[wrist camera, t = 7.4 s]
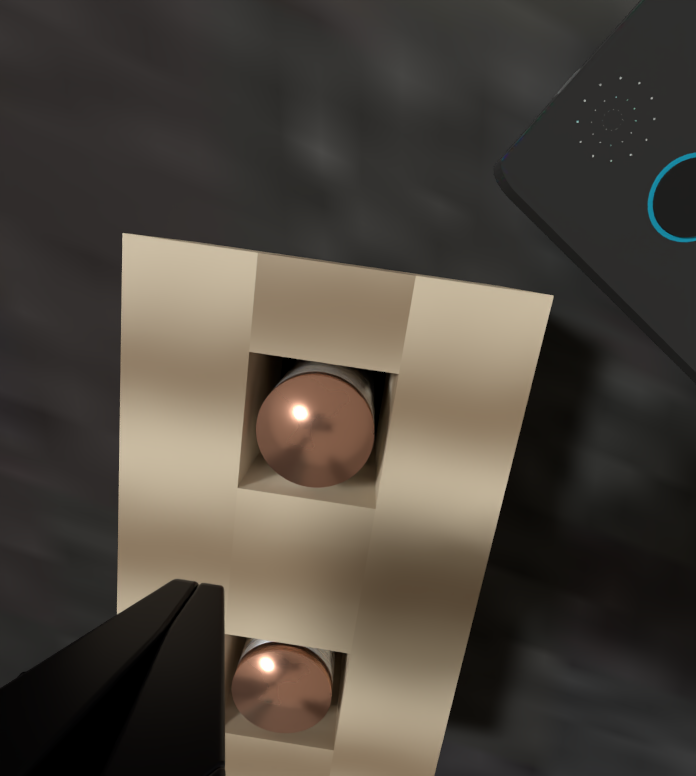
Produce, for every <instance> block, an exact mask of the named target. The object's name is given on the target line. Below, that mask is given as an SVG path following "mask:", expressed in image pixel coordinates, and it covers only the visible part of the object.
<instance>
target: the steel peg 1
mask: <svg viewBox="0 0 696 776" xmlns="http://www.w3.org/2000/svg"><path fill="white" fill-rule="evenodd" d="M256 437H257V442H258V446H259V448H260V451H261V453H262V455H263V457H264V459H265V460H266V462H267V463H268V464H269V466H270V467H271V468H272V469H273V470H274V471H275V472H276V473H278V474H279V475H280V476H282V477H283V478H285V479H286V480H288V481H290V482H292V483H295V484H298V485H301V486H306V487H314V488H321V487H329V486H333V485H337V484H339V483H342V482H344V481H346V480H348V479H349V478H351V477H352V476H353V475H355V474H356V473H357V472H358V471H359V470H360V469H361V468H362V467H363V465H364V464H365V463H366V461H367V459H368V458H369V456H370V453H371V451H372V447H373V443H374V379H373V374H372V371H371V370H369V369H362V368H355V367H348V366H342V365H335V364H328V363H321V362H315V361H308V360H301V359H297V360H296V362H295V363H294V364H293V365H292V367H291V368H290V369H289V370H288V372H287V373H286V374H285V375H284V377H283V378H282V379H281V380H280V382H279V383H278V384H277V385H276V387H275V388H274V389H273V390H272V392H271V393H270V394H269V395H268V397H267V398H266V399H265V401H264V402H263V404H262V406H261V408H260V410H259V414H258V417H257V422H256Z"/></svg>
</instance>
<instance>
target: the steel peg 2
mask: <svg viewBox="0 0 696 776" xmlns="http://www.w3.org/2000/svg"><path fill="white" fill-rule="evenodd" d="M335 655H336V651H330V650H324V649H318V648H311V647H305V646H299V645H292V644H286V643H280V642H273V641H267V640H261V639H254V638H248V637H247V639H246V642H245V645H244V648H243V651H242V654H241V657H240V660H239V663H238V666H237V669H236V672H235V675H234V678H233V680H232V686H231V692H232V697H233V701H234V703H235V705H236V707H237V709H238V710H239V712H240V713H241V714H242V715H243V716H244V717H245V718H246V719H247V720H248V721H250V722H251V723H253V724H254V725H256V726H258V727H260V728H262V729H265V730H268V731H272V732H276V733H295V732H300V731H304V730H307V729H309V728H311V727H313V726H314V725H316V724H317V723H318V722H320V721H321V720H322V719H323V717H324V716H325V715H326V713H327V712H328V709H329V707H330V703H331V695H332V685H333V675H334V665H335Z"/></svg>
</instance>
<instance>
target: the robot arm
mask: <svg viewBox="0 0 696 776" xmlns="http://www.w3.org/2000/svg"><path fill="white" fill-rule="evenodd" d="M0 776H226V771H225V593H224V587H223V586H222V585H216V584H210V583H201V584H198V582H196V581H191V580H185V579H173V580H171V581H170V582H168V583H166V584H165V585H163V586H162V587H160V588H159V589H157V590H155V591H154V592H152V593H151V594H149V595H147V596H146V597H144V598H143V599H141V600H139V601H138V602H136V603H135V604H133V605H132V606H130V607H128V608H127V609H125V610H124V611H122V612H120V613H119V614H117V615H116V616H114V617H113V618H111V619H109V620H108V621H106V622H105V623H103V624H101V625H100V626H98V627H97V628H95V629H93V630H92V631H90V632H89V633H87V634H86V635H84V636H82V637H81V638H79V639H78V640H76V641H74V642H73V643H71V644H70V645H68V646H67V647H65V648H63V649H62V650H60V651H59V652H57V653H55V654H54V655H52V656H51V657H49V658H47V659H46V660H44V661H43V662H41V663H40V664H38V665H36V666H35V667H33V668H32V669H30V670H28V671H27V672H22V673H21V674H20V675H19V676H18V677H17V678H16V679H14V680H13V681H11V682H9V683H8V684H6V685H5V686H3V687H1V688H0Z"/></svg>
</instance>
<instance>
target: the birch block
mask: <svg viewBox="0 0 696 776" xmlns="http://www.w3.org/2000/svg"><path fill="white" fill-rule="evenodd" d="M553 297H554V296H553V295H547V294H541V293H536V292H530V291H524V290H519V289H513V288H508V287H502V286H496V285H489V284H482V283H475V282H468V281H461V280H454V279H448V278H441V277H434V276H427V275H420V274H413V273H406V272H399V271H392V270H386V269H379V268H372V267H365V266H358V265H351V264H344V263H337V262H330V261H324V260H317V259H310V258H303V257H296V256H289V255H282V254H275V253H268V252H261V251H255V250H248V249H241V248H234V247H227V246H220V245H213V244H206V243H199V242H191V241H183V240H175V239H167V238H158V237H150V236H142V235H134V234H126V233H123V245H122V313H121V382H120V450H119V518H118V587H117V614H119V613H120V612H122V611H124V610H125V609H127V608H128V607H130V606H132V605H133V604H135V603H136V602H138V601H139V600H141V599H143V598H144V597H146V596H147V595H149V594H151V593H152V592H154V591H155V590H157V589H159V588H160V587H162V586H163V585H165V584H166V583H168V582H170V581H171V580H173V579H185V580H191V581H196V582H198V584H201V583H210V584H216V585H222V586H223V587H224V593H225V771H226V776H434V774H435V770H436V766H437V762H438V758H439V754H440V750H441V746H442V742H443V738H444V734H445V730H446V726H447V722H448V718H449V714H450V710H451V706H452V702H453V698H454V694H455V690H456V685H457V681H458V677H459V673H460V669H461V665H462V661H463V657H464V653H465V649H466V645H467V641H468V637H469V633H470V629H471V625H472V621H473V617H474V613H475V609H476V605H477V601H478V597H479V593H480V589H481V585H482V581H483V577H484V573H485V569H486V565H487V561H488V557H489V553H490V549H491V545H492V541H493V537H494V533H495V529H496V525H497V521H498V517H499V513H500V509H501V505H502V501H503V497H504V493H505V489H506V485H507V481H508V477H509V473H510V469H511V465H512V461H513V457H514V453H515V449H516V445H517V441H518V437H519V433H520V429H521V425H522V421H523V417H524V413H525V409H526V405H527V401H528V397H529V393H530V389H531V385H532V381H533V377H534V373H535V369H536V365H537V361H538V357H539V353H540V349H541V345H542V341H543V337H544V333H545V329H546V325H547V321H548V317H549V313H550V309H551V305H552V301H553ZM283 357H288V358H295V359H301V360H308V361H315V362H321V363H328V364H335V365H342V366H348V367H355V368H362V369H369V370H375V371H382V372H386V378H385V384H384V390H383V396H382V402H381V408H380V414H379V420H378V426H377V432H376V438H375V440H374V443H373V447H372V451H371V453H370V456H369V458H368V459H367V461H366V463H365V464H364V465H363V467H362V468H361V469H360V470H359V471H358V472H357V473H356V474H355V475H353V476H352V477H351V478H349V479H348V480H346V481H344V482H342V483H339V484H337V485H333V486H329V487H321V488H314V487H306V486H301V485H298V484H295V483H292V482H290V481H288V480H286V479H285V478H283V477H282V476H280V475H279V474H278V473H276V472H275V471H274V470H273V469H272V468H271V467H270V466H269V464H268V463H267V462H266V460H265V459H264V457H263V455H262V453H261V451H260V448H259V446H258V442H257V437H256V422H257V417H258V414H259V410H260V408H261V406H262V404H263V402H264V401H265V399H266V398H267V397H268V395H269V394H270V393H271V392H272V390H273V389H274V388H275V387H276V385H277V384H278V383H279V382H280V380H281V371H282V361H283ZM247 637H248V638H254V639H261V640H267V641H273V642H280V643H286V644H292V645H299V646H305V647H311V648H318V649H324V650H330V651H336V655H335V665H334V675H333V685H332V695H331V703H330V707H329V709H328V712H327V713H326V715H325V716H324V717H323V719H322V720H321V721H320V722H318V723H317V724H316V725H314V726H313V727H311V728H309V729H307V730H304V731H300V732H295V733H276V732H272V731H268V730H265V729H262V728H260V727H258V726H256V725H254V724H253V723H251V722H250V721H248V720H247V719H246V718H245V717H244V716H243V715H242V714H241V713H240V712H239V710H238V709H237V707H236V705H235V703H234V701H233V697H232V692H231V686H232V680H233V678H234V675H235V672H236V669H237V666H238V663H239V660H240V657H241V654H242V651H243V648H244V645H245V642H246V639H247Z"/></svg>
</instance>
